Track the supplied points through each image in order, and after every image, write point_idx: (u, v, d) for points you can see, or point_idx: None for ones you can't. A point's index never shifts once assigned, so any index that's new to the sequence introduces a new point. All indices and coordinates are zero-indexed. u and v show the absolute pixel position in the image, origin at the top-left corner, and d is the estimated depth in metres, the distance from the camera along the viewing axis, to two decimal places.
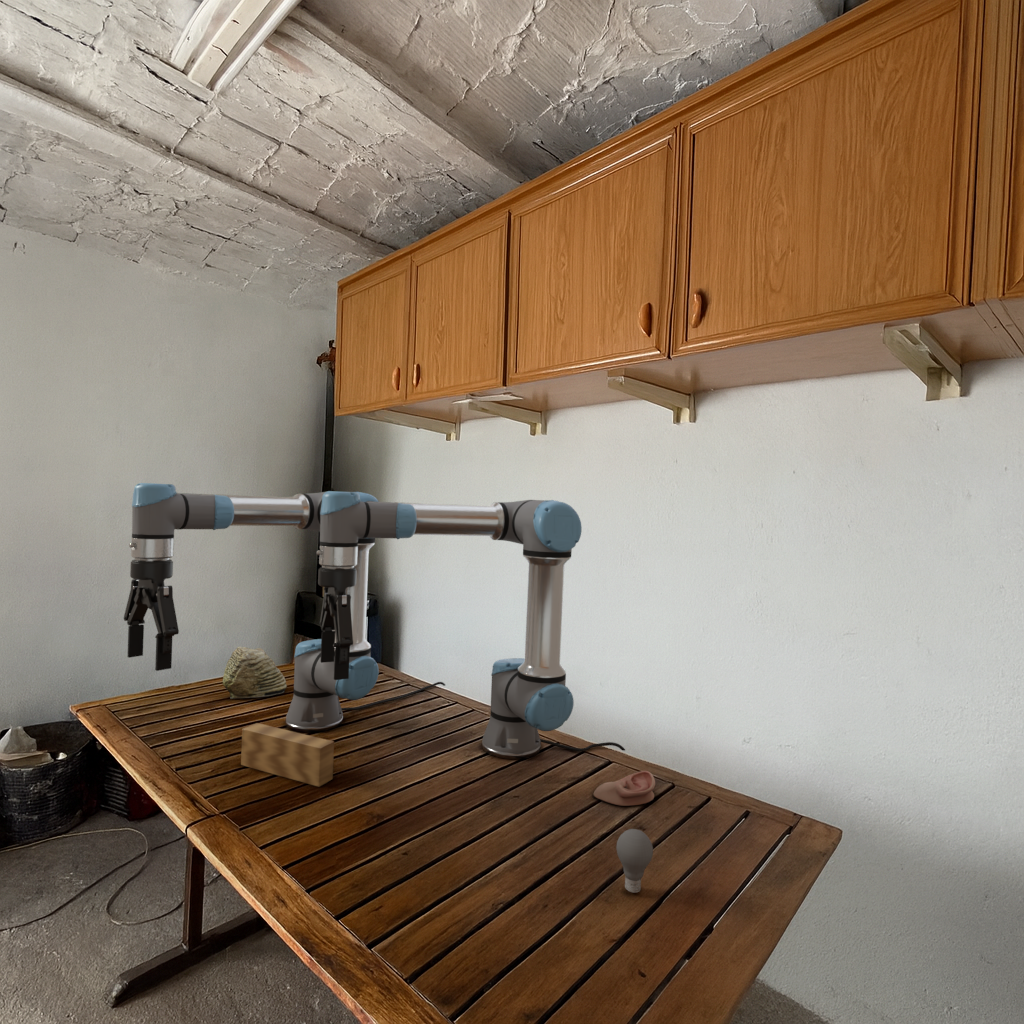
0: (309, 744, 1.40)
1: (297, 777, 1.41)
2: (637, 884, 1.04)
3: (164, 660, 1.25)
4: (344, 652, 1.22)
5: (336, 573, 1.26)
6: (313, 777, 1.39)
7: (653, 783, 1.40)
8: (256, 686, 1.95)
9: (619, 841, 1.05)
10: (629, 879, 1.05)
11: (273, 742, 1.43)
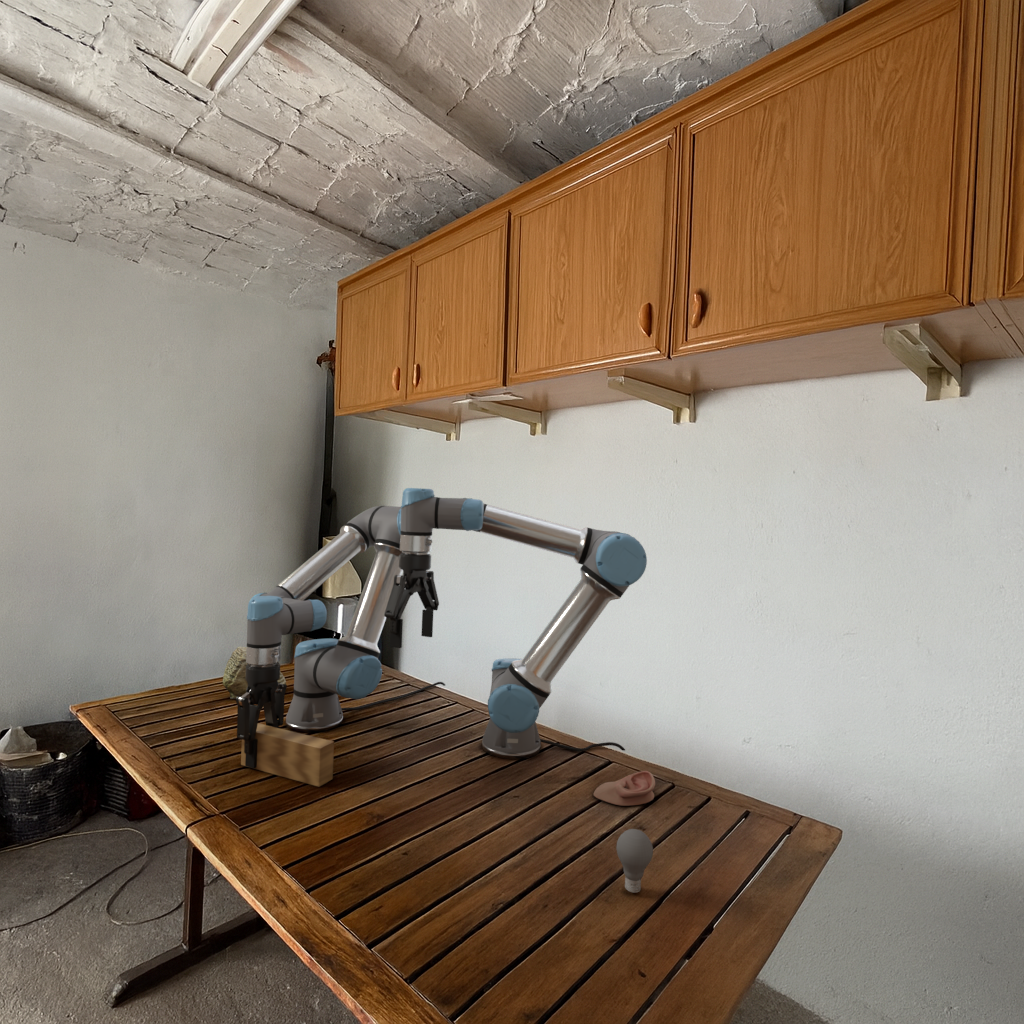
0: (309, 744, 1.40)
1: (297, 777, 1.41)
2: (637, 884, 1.04)
3: None
4: None
5: None
6: (313, 777, 1.39)
7: (653, 783, 1.40)
8: None
9: (619, 841, 1.05)
10: (629, 879, 1.05)
11: (273, 742, 1.43)
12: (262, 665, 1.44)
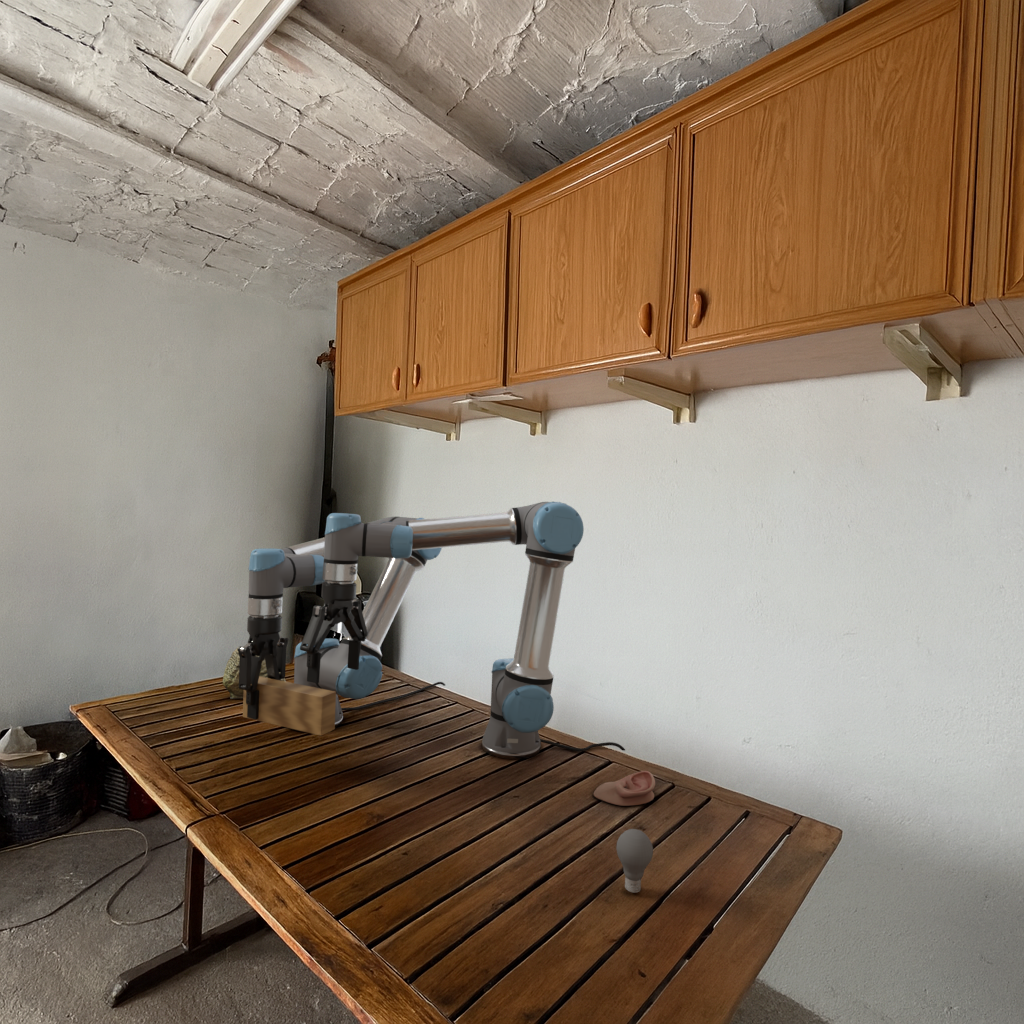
0: (311, 693, 1.40)
1: (299, 726, 1.40)
2: (637, 884, 1.04)
3: None
4: None
5: None
6: (315, 726, 1.39)
7: (653, 783, 1.40)
8: None
9: (619, 841, 1.05)
10: (629, 879, 1.05)
11: (275, 693, 1.43)
12: (264, 616, 1.44)
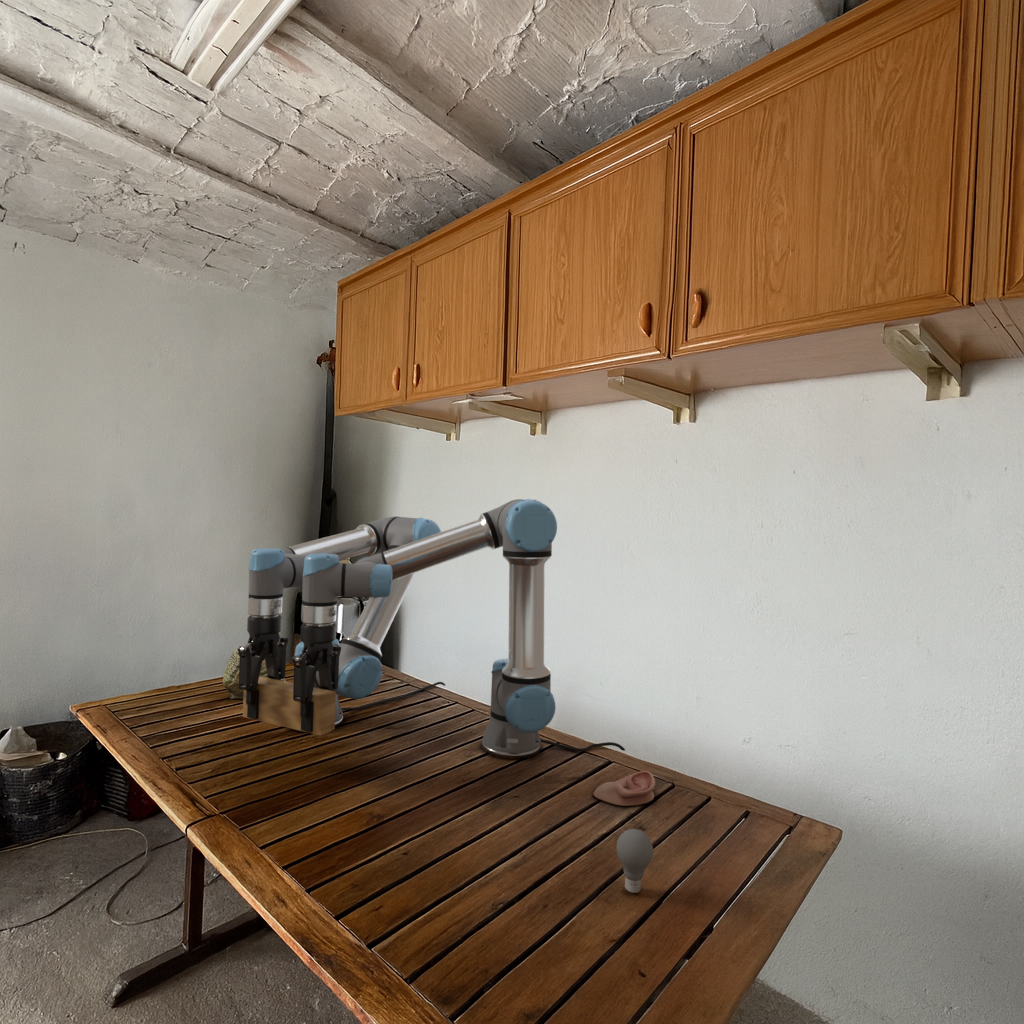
0: None
1: (299, 726, 1.40)
2: (637, 884, 1.04)
3: None
4: None
5: None
6: (315, 726, 1.39)
7: (653, 783, 1.40)
8: None
9: (619, 841, 1.05)
10: (629, 879, 1.05)
11: (275, 693, 1.43)
12: (264, 616, 1.44)
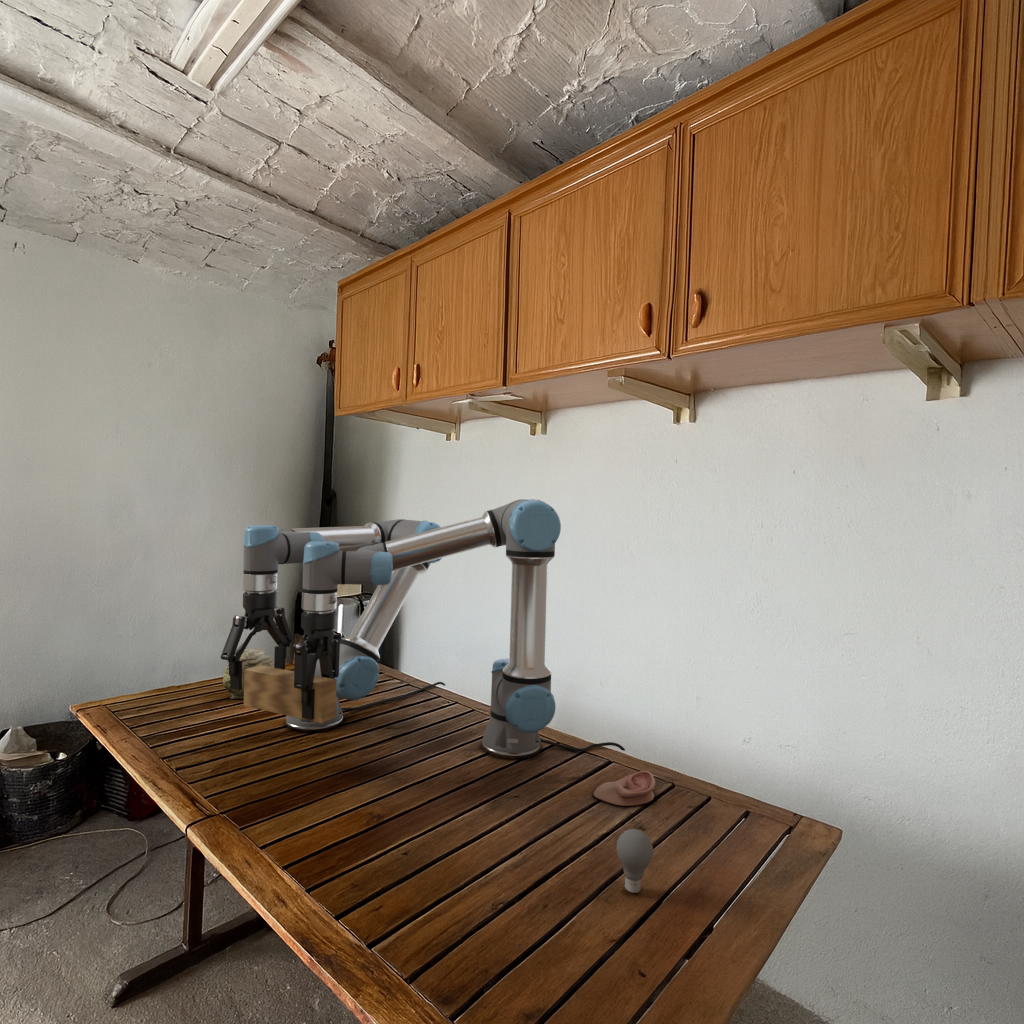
0: None
1: (300, 714, 1.40)
2: (637, 884, 1.04)
3: None
4: None
5: None
6: (316, 714, 1.39)
7: (653, 783, 1.40)
8: None
9: (619, 841, 1.05)
10: (629, 879, 1.05)
11: (275, 681, 1.43)
12: (259, 591, 1.45)
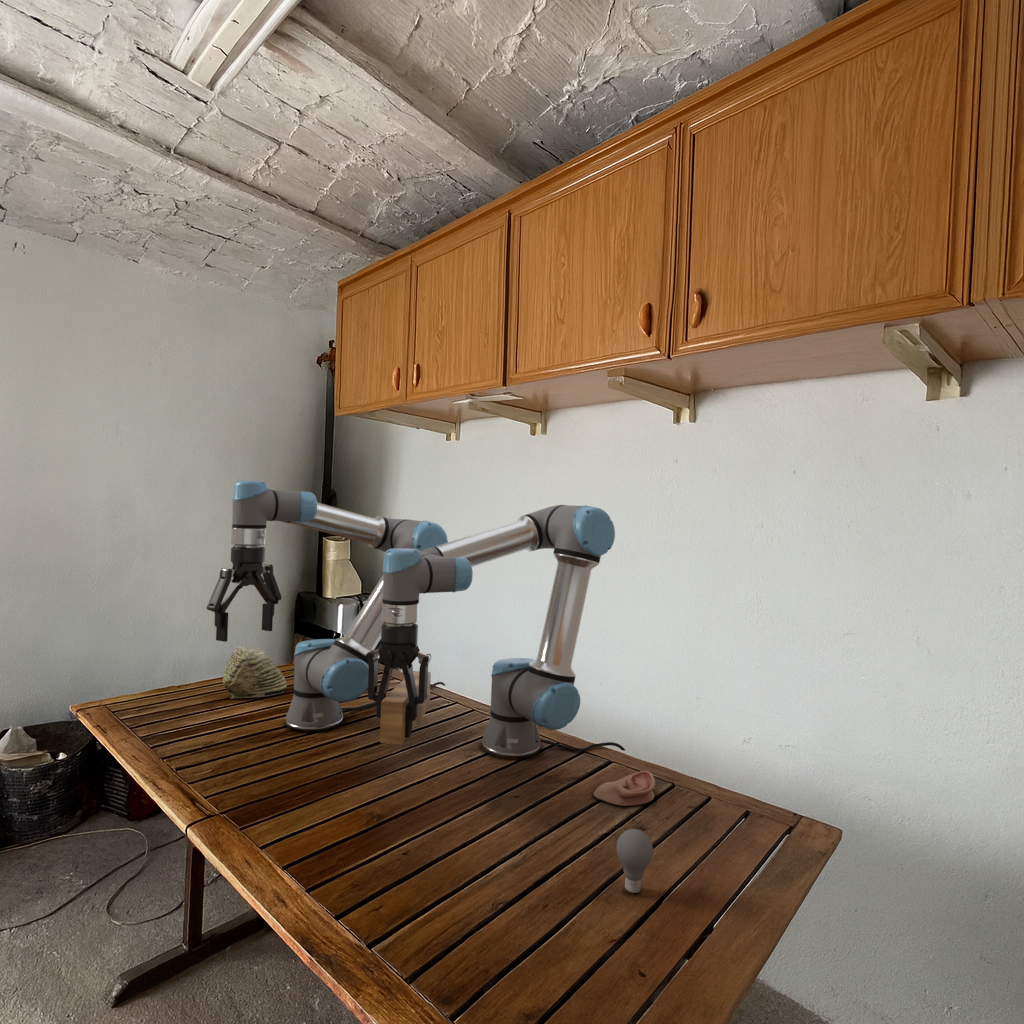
0: (388, 696, 1.32)
1: None
2: (637, 884, 1.04)
3: None
4: (416, 709, 1.31)
5: (415, 629, 1.30)
6: None
7: (653, 783, 1.40)
8: (256, 686, 1.95)
9: (619, 841, 1.05)
10: (629, 879, 1.05)
11: None
12: (247, 545, 1.46)
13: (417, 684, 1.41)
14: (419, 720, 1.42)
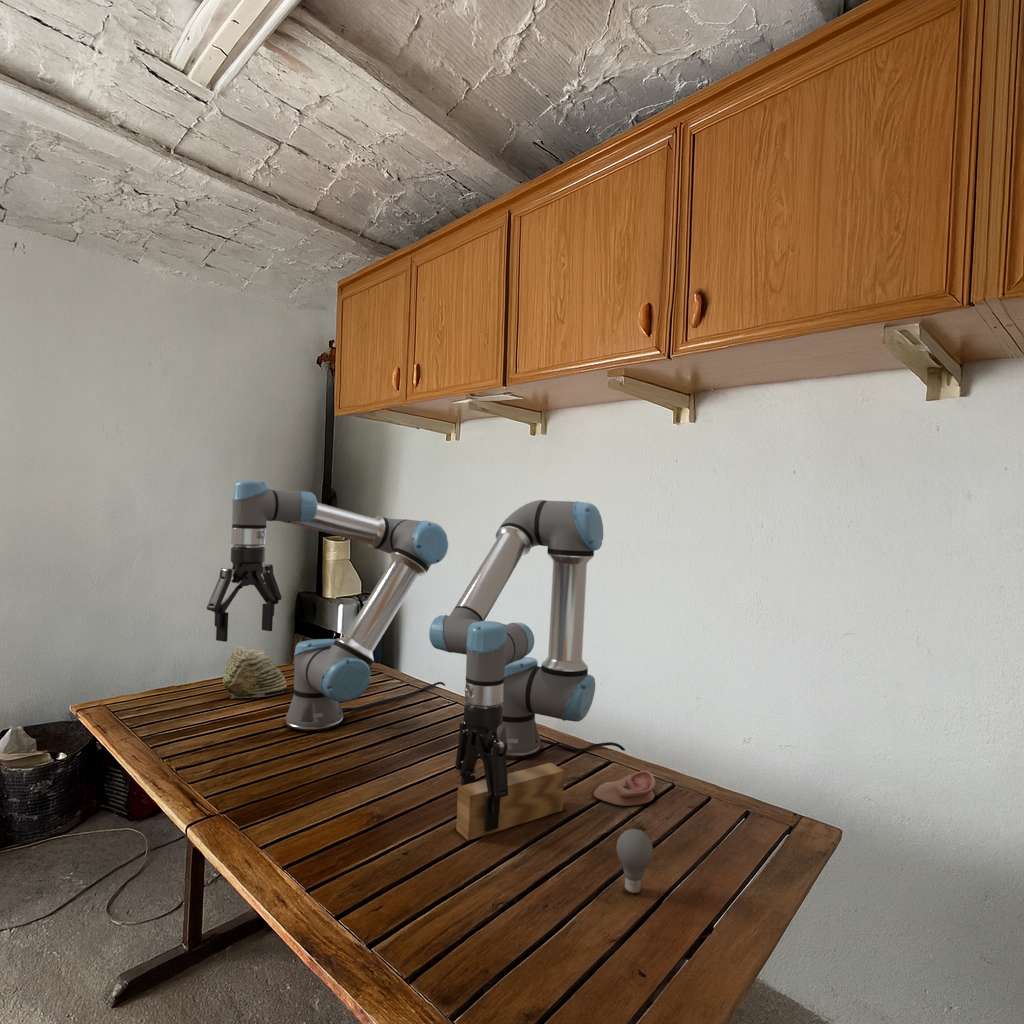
0: (474, 783, 1.24)
1: None
2: (637, 884, 1.04)
3: None
4: (497, 803, 1.18)
5: (489, 714, 1.19)
6: None
7: (653, 783, 1.40)
8: (256, 686, 1.95)
9: (619, 841, 1.05)
10: (629, 879, 1.05)
11: None
12: (247, 545, 1.46)
13: (523, 780, 1.27)
14: (526, 821, 1.27)
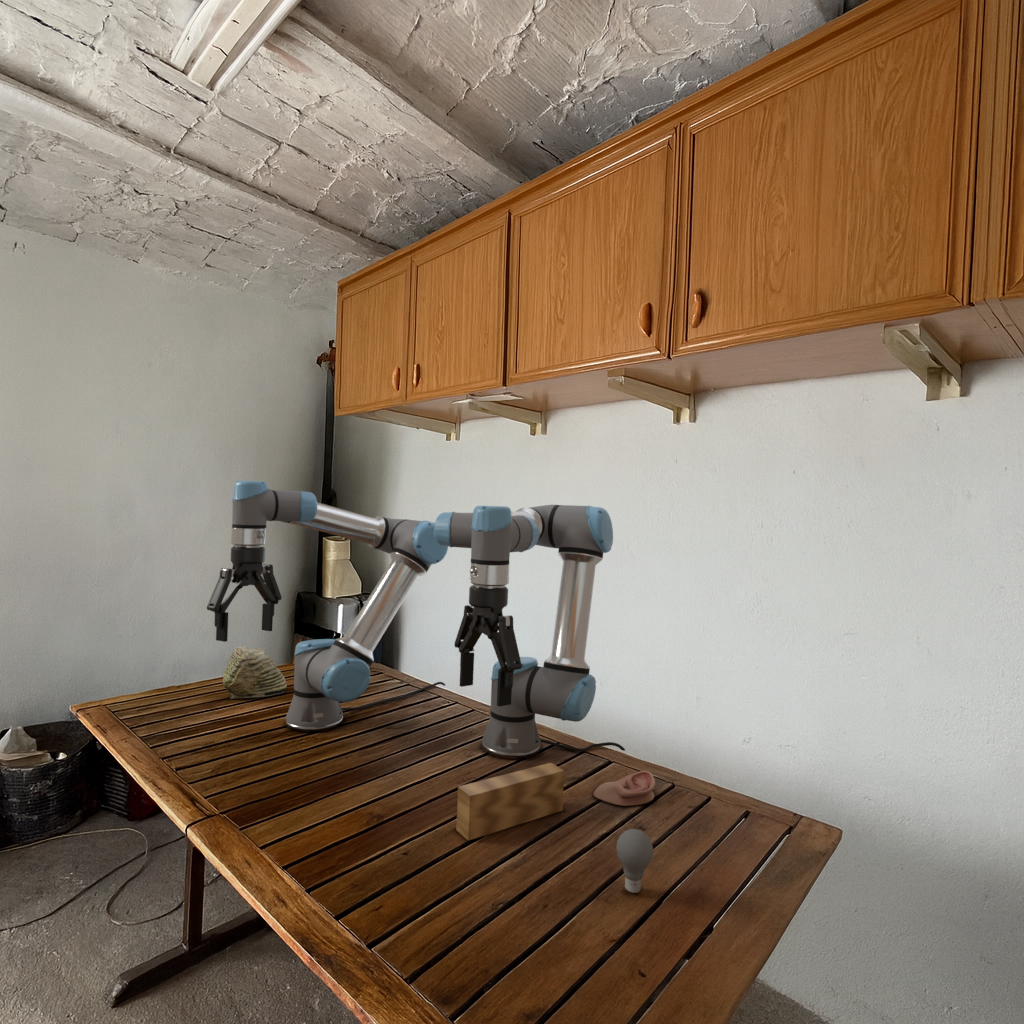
0: (474, 783, 1.24)
1: None
2: (637, 884, 1.04)
3: None
4: (510, 677, 1.16)
5: (494, 593, 1.19)
6: None
7: (653, 783, 1.40)
8: (256, 686, 1.95)
9: (619, 841, 1.05)
10: (629, 879, 1.05)
11: None
12: (247, 545, 1.46)
13: (523, 780, 1.27)
14: (526, 821, 1.27)
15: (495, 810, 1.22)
